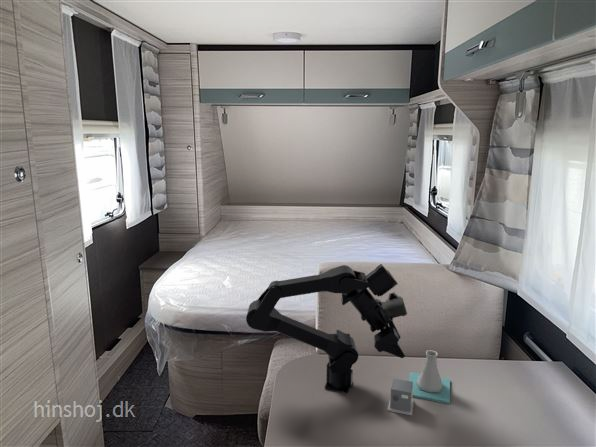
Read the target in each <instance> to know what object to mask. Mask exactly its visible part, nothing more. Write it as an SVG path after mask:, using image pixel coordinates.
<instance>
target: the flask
mask: <svg viewBox="0 0 596 447" xmlns="http://www.w3.org/2000/svg"><path fill="white" fill-rule="evenodd" d="M425 355H426V358H425V363H424V366H423V368H422V370H421V372H420V373H419V374H420V376H419V378H418V380H417V382H416V384H417V386H418V388H419V389H421V390H424V391H426V392H440V391H441V390H442V388H443V385H442V382H441V378H442V377H441V376H440V371H439V368H438V364H437V361H438V360H437V357H438V356H439V353H438V352H437V351H435V350H433V349H432V350H429V349H427V350H426V351H425ZM440 377H441V378H440Z"/></svg>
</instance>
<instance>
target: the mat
mask: <svg viewBox="0 0 596 447" xmlns="http://www.w3.org/2000/svg"><path fill="white" fill-rule="evenodd" d="M420 374H421V373H417V372H416V373H415V372H412V371H411V372H409V378H408V381H411V382H413V398H416V399H422V400H426V401H427V400H428V401H434V402H439V403H443V404H449V405H450V404H451V379H450V378H447V377H441V376H440V378H441V382H442V385H443V388H442V390H441V391H440V392H426V391H424V390H421V389H419V388H418V386H417V384H416V382H417V380H418V378H419V376H420Z"/></svg>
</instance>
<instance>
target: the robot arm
mask: <svg viewBox="0 0 596 447" xmlns="http://www.w3.org/2000/svg"><path fill="white" fill-rule="evenodd" d="M397 285H399V282H397V279H395V277H394V276H393V275H392V273H391V272H390V271H389V270H388V269H387V268H386V267H385V266H384V265H383V264H382V263H380V264H379V265H377V266H376V267H375V268H374V269H373V270H371V271H370V272H369V273H367V274H366V273H365V272H362V271H357V270H353V269H352V267H351V266H349V265H346V264H345V265H340V266H336V267H333V268H330V269H329V270H327V271H325V272H323V273H320V274H314V275H308V276H307V275H306V276H302V277H301V276H300V277H295V278H290V279H283V280H273V281H271V282H270V283H269V285H268V287H267V288H266V289H265V290H264V291H263V292H262V293H261V295H260V296H259V297H258V298H257V299H256V300H254V301H252V302H251V303H250V304H249V306H248V309H247V312H246V318H245V321H246V323H247V326H248V327H249V328H250V329H253V330H256V331H261V332H263V333H264V332H267V333H268V332H269V333H270V332H276V333H279V334H282V335H284V336H286V337H289V338H292V339H295V340H297V341H299V342H301V343H303V344H307V345H309V346H311V347H314V348H316V349H318V350H321V351H323V352H325V353H326V354H327V356H328V363H327V364H326V379H325V380H326V382H325V385H324V389H325V390H330V391H335V392H340V393H344V394H347V393H349V391H350V388H351V387H352V385H353V383H354V382H353V380H354V376H353V375H354V370H353V369H352V367H353V365H354V364H356V362H357V361H358V360H359V351H358V349H357V348H358V347H357V344H356V341H355V339H354V338H353V336H351V334H350V333H345V332H343V331H341V330H339V329H336V331H335V333H327V332H326V331H325V332H324V331H322V330H320V329H318V328H315V327H313V326H310V325H307V324H306V323H303V322H301V321H298V320H295V319H293V318H290V317H289V316H287V315H283V314H282V313H281V312H279V310H278V309H276V308H275V307H276V305H277V304H278V302H279V301H280V299H283V298H288V297H289V298H291V297H296V296H301V295H302V296H303V295H309V294H315V293H321V292H322V293H323V292H324V293H325V292H326V293H333V294H341V298H340V302H341V305H342V306H345V305H346V304H348V303H350V304H351V305H352V306H353V308H354V309H355V310H356V311H357V312H358V314H359V315H360V319H361V321H363V322H364V321H365V322H366V323H367V324H368V326H369V328H370V331H371V332H372V333H375V332H376V331H380V332H378V333H376V334H374V335H373V346H374V348H375V350H377V352H378V353H382V352H385V353H388V354H391V355H393V356H395V357H398V358H401V359H404V358H405V357H406V355H405V352H404V351H403V349H402V347H401V345H400V344H399V340H401V334H400V333H399V331H398V328H397V326H396V325H395V322H394V319H395V318H399V317H406V316H407V315H408V311H407V308H406V305H405V303H404V298H403V297H401V295H397V293H396V292H391V293H389V294H388V296H387V297H388V298H387V299H386V300H385V301H382V300H380V299H378V298H375V297H376V296H377V297H382V296H383V295H385V294H386V293H388V292H389V291H391V290H392V289H393V288H395V287H396V286H397ZM373 295H374V296H375V297H374V296H373Z"/></svg>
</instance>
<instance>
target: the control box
mask: <svg viewBox="0 0 596 447" xmlns="http://www.w3.org/2000/svg"><path fill="white" fill-rule="evenodd" d="M413 398H414V397H413V382H411V381H409V380H404V379H398V378H394V377H393V378H392V384H391V387H390V397H389V402H388V406H387V411H388V412H393V413H398V414H402V415H403V414H404V415H407V416H412V415H413V409H414V399H413Z"/></svg>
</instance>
